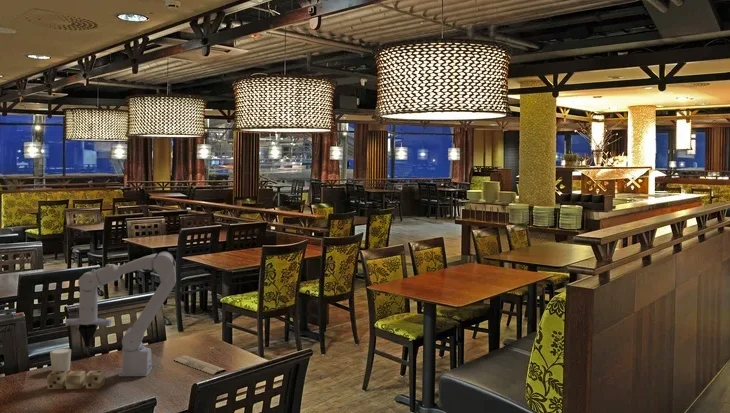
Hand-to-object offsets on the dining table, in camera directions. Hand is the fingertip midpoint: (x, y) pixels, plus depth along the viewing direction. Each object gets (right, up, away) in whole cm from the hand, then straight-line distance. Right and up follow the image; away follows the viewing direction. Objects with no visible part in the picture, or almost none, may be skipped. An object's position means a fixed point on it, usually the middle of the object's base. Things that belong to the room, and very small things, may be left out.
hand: (88, 346), depth 214 cm
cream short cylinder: (-12, -10, +6) cm, 17 cm away
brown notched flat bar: (+35, -11, +13) cm, 39 cm away
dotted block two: (+6, -11, -9) cm, 15 cm away
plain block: (0, -11, -9) cm, 15 cm away
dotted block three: (-6, -11, -10) cm, 16 cm away
